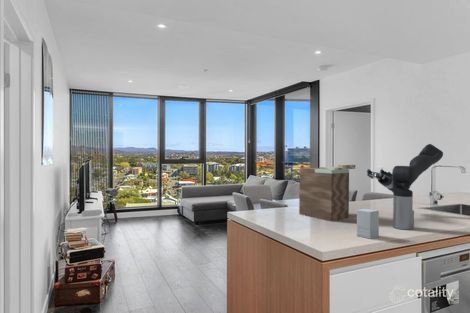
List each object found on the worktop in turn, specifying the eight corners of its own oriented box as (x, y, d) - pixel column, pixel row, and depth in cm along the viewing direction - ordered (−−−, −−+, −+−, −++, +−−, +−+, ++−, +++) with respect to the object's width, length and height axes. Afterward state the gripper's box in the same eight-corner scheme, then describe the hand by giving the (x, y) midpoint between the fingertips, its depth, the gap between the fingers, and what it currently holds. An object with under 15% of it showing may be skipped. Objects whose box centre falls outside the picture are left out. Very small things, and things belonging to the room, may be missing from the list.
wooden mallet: (346, 168, 215) (346, 164, 215) (360, 169, 205) (360, 165, 205) (320, 169, 201) (320, 165, 201) (334, 169, 192) (334, 165, 192)
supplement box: (379, 237, 154) (379, 210, 153) (370, 239, 149) (370, 211, 149) (365, 233, 160) (365, 208, 160) (356, 235, 155) (356, 209, 155)
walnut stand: (316, 211, 219) (316, 167, 219) (348, 218, 198) (349, 169, 197) (299, 214, 210) (299, 168, 210) (331, 221, 189) (331, 170, 189)
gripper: (377, 175, 213) (364, 164, 204) (399, 175, 201) (386, 164, 192) (374, 185, 211) (362, 175, 202) (396, 186, 199) (384, 176, 190)
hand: (374, 170), depth 197 cm, fingers open, 8 cm apart
